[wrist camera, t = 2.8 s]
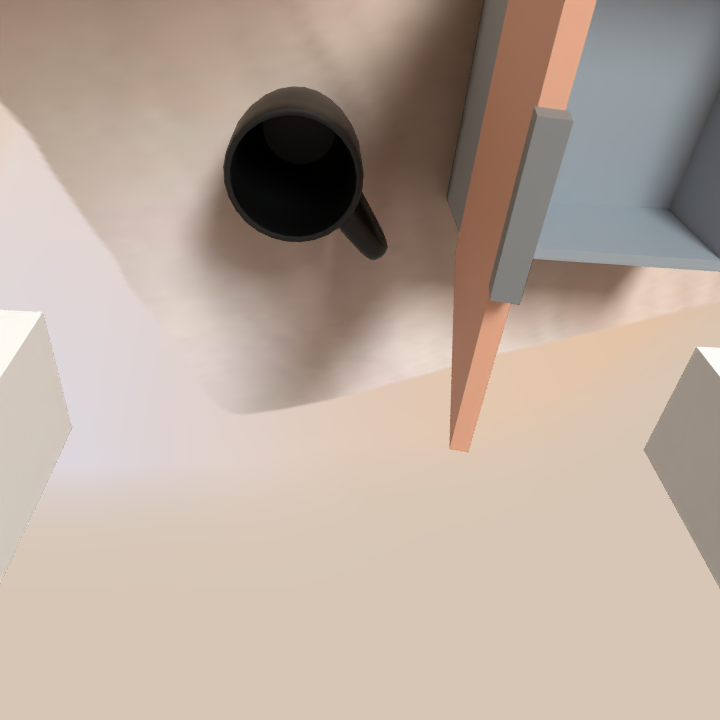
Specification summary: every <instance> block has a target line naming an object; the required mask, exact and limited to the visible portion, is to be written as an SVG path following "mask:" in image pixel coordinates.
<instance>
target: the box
mask: <svg viewBox="0 0 720 720" xmlns="http://www.w3.org/2000/svg"><path fill="white" fill-rule="evenodd" d="M507 4H508V0H484V4H483V9H482V15H481V20H480V25H479V30H478V36H477V41H476V46H475V52H474V57H473V62H472V67H471V73H470V78H469V83H468V89H467V94H466V99H465V104H464V110H463V115H462V120H461V125H460V131H459V136H458V141H457V147H456V152H455V157H454V162H453V168H452V173H451V178H450V184H449V189H448V194H447V200H448V203H449V206H450V208H451V211H452V214H453V217H454V219H455V222H456V225H457V227H458V230H459V233H460V228H461V224H462V219H463V214H464V209H465V204H466V200H467V195H468V190H469V185H470V181H471V176H472V171H473V166H474V162H475V157H476V152H477V147H478V142H479V138H480V133H481V128H482V123H483V119H484V114H485V109H486V104H487V100H488V95H489V90H490V85H491V80H492V76H493V71H494V66H495V61H496V57H497V52H498V47H499V42H500V38H501V33H502V28H503V23H504V18H505V14H506V9H507ZM566 111H569V112H570V114H571V116H572V118H573V121H574V122H573V125H572V129H571V132H570V135H569V139H568V142H567V145H566V149H565V152H564V156H563V159H562V162H561V166H560V169H559V173H558V176H557V179H556V183H555V186H554V190H553V193H552V196H551V200H550V203H549V207H548V210H547V213H546V217H545V220H544V224H543V227H542V230H541V234H540V237H539V240H538V244H537V247H536V251H535V254H534V257H533V259H542V260H557V261H572V262H586V263H601V264H615V265H630V266H645V267H659V268H674V269H689V270H703V271H718V272H720V0H597V1H596V5H595V8H594V12H593V15H592V19H591V22H590V26H589V30H588V33H587V37H586V40H585V44H584V47H583V51H582V54H581V58H580V61H579V65H578V68H577V72H576V75H575V79H574V82H573V86H572V89H571V93H570V96H569V100H568V103H567V107H566Z"/></svg>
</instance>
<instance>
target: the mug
mask: <svg viewBox="0 0 720 720" xmlns="http://www.w3.org/2000/svg"><path fill="white" fill-rule="evenodd" d="M223 169H224V183H225V186H226V190H227V193H228V197H229V198H230V200H231V202H232V204H233V206H234V208H235V209H236V211H237V212H238V213H239V214H240V216H241V217H242V218H243V219H244V220H245V221H246V222H247V223H248V224H249V225H251V226H252V227H253V228H255V229H256V230H257V231H259V232H261V233H263V234H265V235H267V236H269V237H271V238H275V239H279V240H283V241H290V242H304V241H310V240H315V239H318V238H321V237H323V236H326V235H328V234H330V233H331V232H333V231H334V230H336V229H337V228H339V229H340V230H341V231H342V232H343V233H344V234H345V236H346V237H347V238H348V239H349V240H350V241H351V242H352V243H353V244H354V245H355V246H356V248H357V249H358V250H359V251H360V252H361V253H362V254H364V255H365V256H366V257H367V258H369V259H371V260H376V259H378V258H380V257H382V256H383V255H384V254H385V252H386V250H387V242H386V239H385V236H384V234H383V231H382V229H381V227H380V225H379V223H378V221H377V219H376V217H375V215H374V214H373V212H372V210H371V208H370V206H369V204H368V202H367V200H366V198H365V197H364V195H363V193H362V187H363V167H362V159H361V153H360V146H359V141H358V139H357V136H356V134H355V131H354V129H353V127H352V125H351V123H350V121H349V120H348V118H347V117H346V116H345V114H344V113H343V111H342V110H341V109H340V108H339V107H338V106H337V105H336V104H335V103H334V102H333V101H332V100H331V99H329V98H328V97H326V96H325V95H323V94H321V93H319V92H318V91H315V90H312V89H308V88H305V87H287V88H281V89H278V90H275V91H273V92H271V93H269V94H266V95H265V96H263V97H262V98H261V99H259V100H258V101H257V102H255V103H254V104H253V105H252V106H251V107H250V108H249V109H248V110H247V111H246V113H245V114H244V115H243V116H242V118H241V119H240V120H239V122H238V124H237V126H236V128H235V131H234V133H233V135H232V137H231V140H230V143H229V145H228V148H227V151H226V155H225V161H224V166H223Z"/></svg>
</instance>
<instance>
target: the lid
mask: <svg viewBox="0 0 720 720" xmlns="http://www.w3.org/2000/svg"><path fill="white" fill-rule="evenodd" d="M596 1H597V0H508V4H507V9H506V14H505V18H504V23H503V28H502V33H501V38H500V42H499V47H498V52H497V57H496V61H495V66H494V71H493V76H492V80H491V85H490V90H489V95H488V100H487V104H486V109H485V114H484V119H483V123H482V128H481V133H480V138H479V142H478V147H477V152H476V157H475V162H474V166H473V171H472V176H471V181H470V185H469V190H468V195H467V200H466V204H465V209H464V214H463V219H462V224H461V228H460V233H459V238H458V243H457V247H456V252H455V275H454V310H453V345H452V380H451V384H452V385H451V415H450V449H452V450H458V451H464V452H469V448H470V445H471V441H472V438H473V434H474V431H475V427H476V424H477V420H478V417H479V413H480V409H481V406H482V402H483V399H484V395H485V392H486V388H487V385H488V381H489V378H490V374H491V371H492V367H493V364H494V360H495V357H496V353H497V350H498V346H499V343H500V339H501V336H502V332H503V329H504V325H505V322H506V318H507V315H508V311H509V307H510V304H517V305H520V302H521V298H522V295H523V291H524V288H525V285H526V281H527V278H528V274H529V271H530V268H531V264H532V261H533V257H534V254H535V251H536V247H537V244H538V240H539V237H540V234H541V230H542V227H543V224H544V220H545V217H546V213H547V210H548V207H549V203H550V200H551V196H552V193H553V190H554V186H555V183H556V179H557V176H558V173H559V169H560V166H561V162H562V159H563V156H564V152H565V149H566V145H567V142H568V139H569V135H570V132H571V129H572V125H573V122H574V121H573V118H572V116H571V114H570V112H569V111H566V107H567V103H568V100H569V96H570V93H571V89H572V86H573V82H574V79H575V75H576V72H577V68H578V65H579V61H580V58H581V54H582V51H583V47H584V44H585V40H586V37H587V33H588V30H589V26H590V22H591V19H592V15H593V12H594V8H595V5H596Z"/></svg>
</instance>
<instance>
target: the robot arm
mask: <svg viewBox="0 0 720 720" xmlns="http://www.w3.org/2000/svg"><path fill="white" fill-rule="evenodd" d="M71 429H72V426H71V422H70V418H69V414H68V410H67V406H66V402H65V398H64V394H63V390H62V386H61V382H60V378H59V374H58V370H57V366H56V362H55V358H54V354H53V350H52V346H51V342H50V338H49V334H48V330H47V326H46V322H45V318H44V314H43V312H33V311H13V310H0V583H1V581H2V579H3V577H4V575H5V573H6V570H7V568H8V566H9V564H10V562H11V559H12V557H13V555H14V553H15V551H16V549H17V546H18V544H19V542H20V540H21V538H22V536H23V534H24V531H25V529H26V527H27V525H28V523H29V520H30V518H31V516H32V514H33V512H34V510H35V508H36V505H37V503H38V501H39V499H40V497H41V495H42V492H43V490H44V488H45V486H46V483H47V482H48V479H49V477H50V475H51V473H52V471H53V468H54V466H55V464H56V462H57V460H58V458H59V455H60V453H61V451H62V449H63V447H64V445H65V442H66V440H67V438H68V436H69V434H70V432H71ZM644 451H645V453H646V455H647V456H648V458H649V460H650V462H651V464H652V466H653V468H654V469H655V471H656V473H657V475H658V477H659V478H660V480H661V482H662V484H663V486H664V488H665V489H666V491H667V493H668V495H669V497H670V499H671V500H672V502H673V504H674V506H675V508H676V509H677V511H678V513H679V515H680V517H681V519H682V520H683V522H684V524H685V526H686V528H687V530H688V531H689V533H690V535H691V537H692V538H693V540H694V542H695V544H696V546H697V548H698V549H699V551H700V553H701V555H702V557H703V559H704V560H705V562H706V564H707V566H708V568H709V569H710V571H711V573H712V575H713V577H714V579H715V581H716V582H717V584H718V586H719V588H720V348H710V347H696V349H695V351H694V353H693V355H692V356H691V358H690V360H689V362H688V364H687V366H686V368H685V370H684V372H683V374H682V376H681V378H680V380H679V382H678V384H677V386H676V388H675V390H674V391H673V394H672V395H671V397H670V399H669V401H668V403H667V405H666V407H665V409H664V411H663V413H662V415H661V417H660V419H659V421H658V423H657V425H656V427H655V428H654V431H653V433H652V434H651V436H650V438H649V440H648V442H647V444H646V446H645V448H644Z"/></svg>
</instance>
